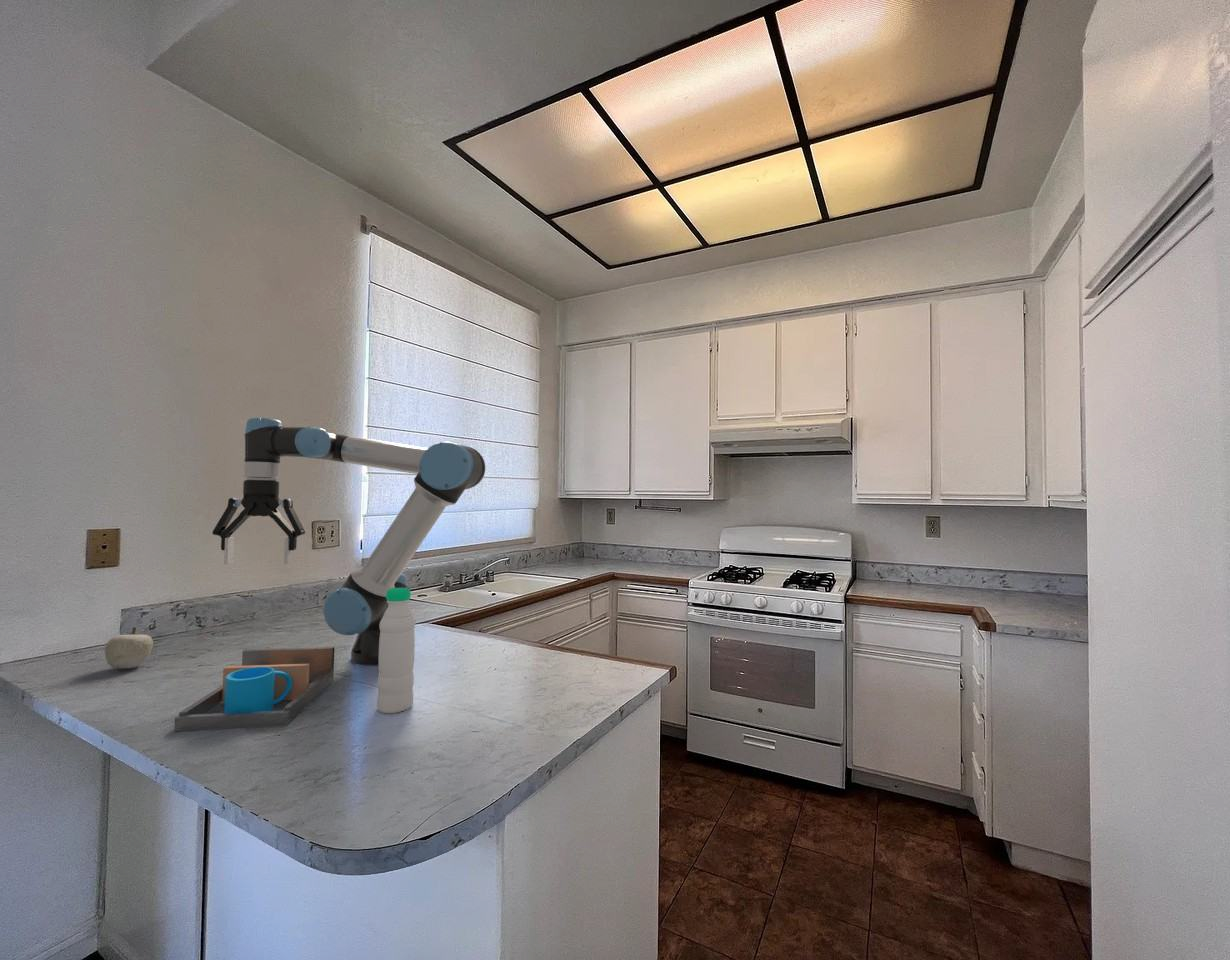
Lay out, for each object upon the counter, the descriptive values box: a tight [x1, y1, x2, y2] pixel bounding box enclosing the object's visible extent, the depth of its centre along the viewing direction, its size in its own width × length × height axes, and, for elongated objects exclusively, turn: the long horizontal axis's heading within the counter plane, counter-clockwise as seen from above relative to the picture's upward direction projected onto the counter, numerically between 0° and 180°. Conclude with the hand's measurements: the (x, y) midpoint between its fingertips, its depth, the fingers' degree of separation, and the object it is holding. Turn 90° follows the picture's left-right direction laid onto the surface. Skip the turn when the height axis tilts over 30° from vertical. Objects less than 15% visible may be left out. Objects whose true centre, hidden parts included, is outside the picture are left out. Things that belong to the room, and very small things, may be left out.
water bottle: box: [376, 588, 416, 715], centre depth 110 cm, size 7×7×25 cm
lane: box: [173, 646, 335, 732], centre depth 111 cm, size 19×24×8 cm
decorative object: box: [104, 626, 154, 670], centre depth 131 cm, size 9×9×10 cm
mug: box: [223, 667, 293, 713], centre depth 107 cm, size 12×8×8 cm
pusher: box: [221, 664, 310, 704], centre depth 114 cm, size 16×4×7 cm, turn 100°
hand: (258, 563), depth 131 cm, fingers open, 13 cm apart
